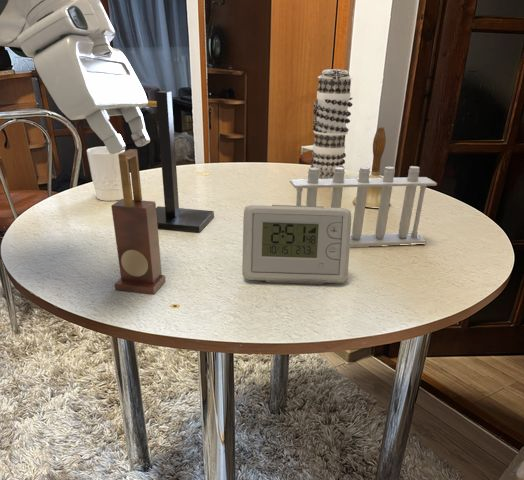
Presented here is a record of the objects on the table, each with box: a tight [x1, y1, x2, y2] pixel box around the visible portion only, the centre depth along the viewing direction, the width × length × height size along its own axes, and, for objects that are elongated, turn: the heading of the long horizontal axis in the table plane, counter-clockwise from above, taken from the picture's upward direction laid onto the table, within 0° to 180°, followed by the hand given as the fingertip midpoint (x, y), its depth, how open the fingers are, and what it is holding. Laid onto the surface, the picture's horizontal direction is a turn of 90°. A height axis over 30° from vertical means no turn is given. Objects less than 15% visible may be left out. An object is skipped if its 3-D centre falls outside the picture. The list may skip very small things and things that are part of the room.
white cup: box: [86, 145, 126, 202], centre depth 112 cm, size 8×8×10 cm
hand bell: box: [352, 126, 387, 207], centre depth 110 cm, size 8×8×16 cm
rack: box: [145, 90, 215, 234], centre depth 95 cm, size 14×10×23 cm
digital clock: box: [241, 204, 352, 285], centre depth 77 cm, size 16×9×11 cm, turn 77°
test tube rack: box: [289, 165, 438, 249], centre depth 89 cm, size 25×4×13 cm, turn 99°
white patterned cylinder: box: [309, 68, 354, 179], centre depth 123 cm, size 9×9×25 cm
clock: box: [110, 148, 166, 295], centre depth 71 cm, size 6×5×19 cm
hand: (132, 148), depth 66 cm, fingers open, 8 cm apart
